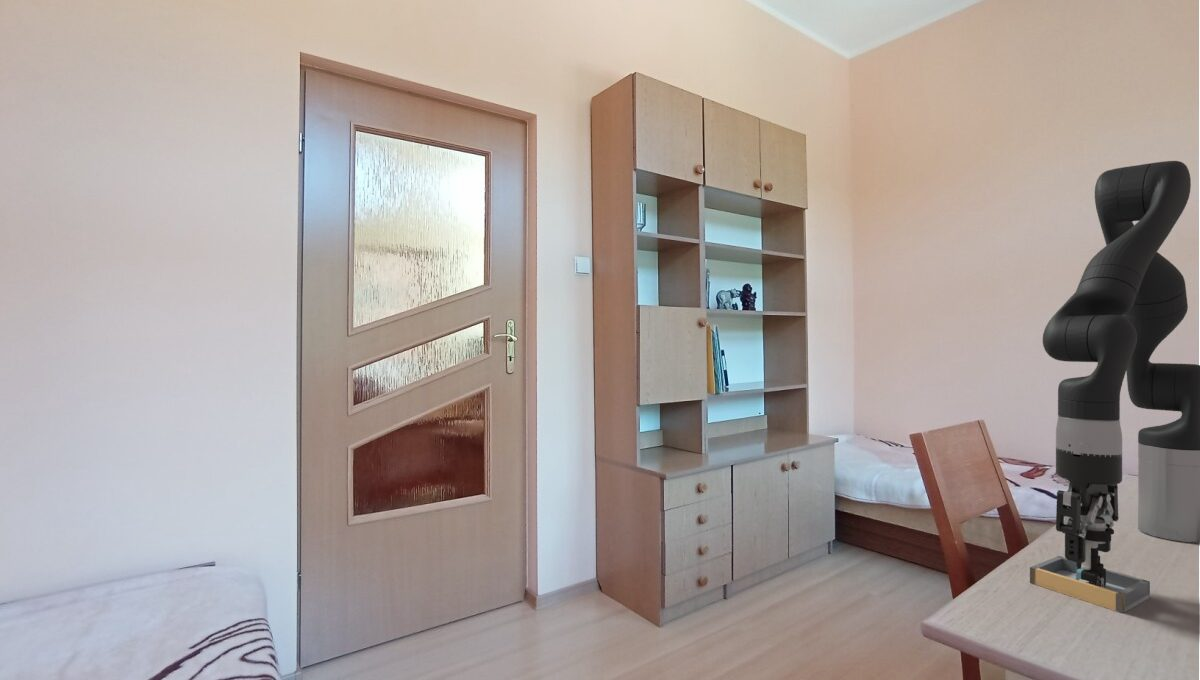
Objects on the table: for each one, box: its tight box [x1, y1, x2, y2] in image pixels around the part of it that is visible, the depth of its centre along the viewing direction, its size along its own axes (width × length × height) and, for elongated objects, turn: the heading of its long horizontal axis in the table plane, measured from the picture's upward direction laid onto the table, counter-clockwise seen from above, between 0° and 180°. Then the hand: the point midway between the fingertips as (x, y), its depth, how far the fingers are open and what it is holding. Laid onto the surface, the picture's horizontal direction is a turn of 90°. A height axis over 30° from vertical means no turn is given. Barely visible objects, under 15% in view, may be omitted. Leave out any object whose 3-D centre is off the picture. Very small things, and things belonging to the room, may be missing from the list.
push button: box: [1071, 518, 1115, 588], centre depth 83 cm, size 7×5×10 cm
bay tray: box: [1029, 555, 1151, 614], centre depth 84 cm, size 10×11×2 cm
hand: (1088, 555), depth 84 cm, fingers open, 8 cm apart
